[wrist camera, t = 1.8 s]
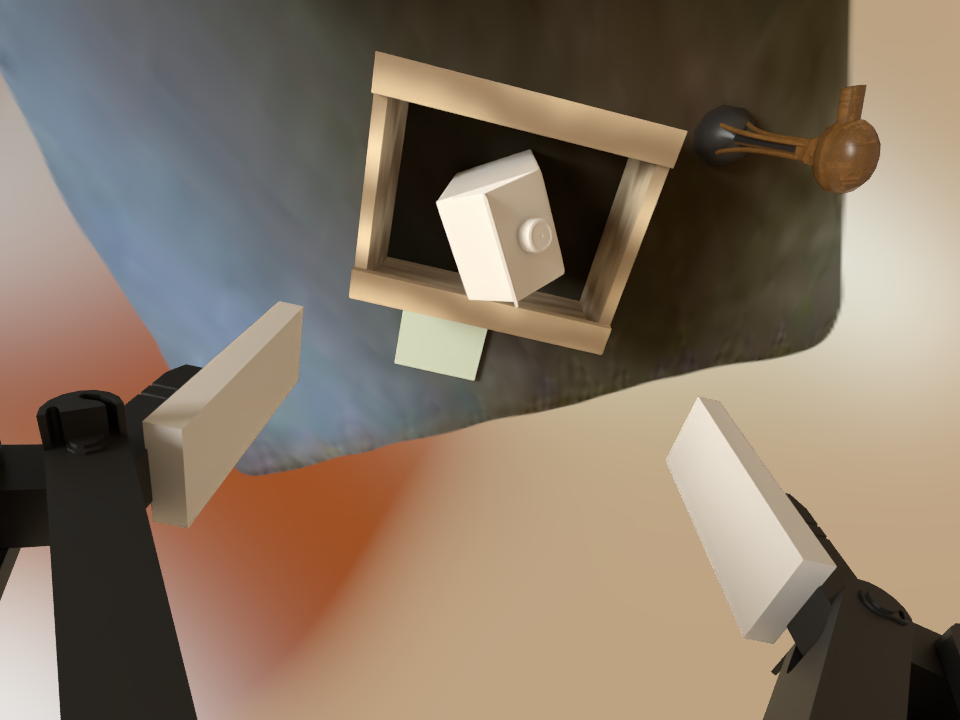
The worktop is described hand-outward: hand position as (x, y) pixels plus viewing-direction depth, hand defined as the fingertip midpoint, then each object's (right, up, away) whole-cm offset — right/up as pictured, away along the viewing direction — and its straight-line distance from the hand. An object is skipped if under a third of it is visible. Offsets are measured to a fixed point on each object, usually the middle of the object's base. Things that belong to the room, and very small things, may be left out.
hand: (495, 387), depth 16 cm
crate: (+2, +16, +30) cm, 35 cm away
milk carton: (+2, +16, +31) cm, 35 cm away
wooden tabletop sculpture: (+20, +21, +27) cm, 40 cm away
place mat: (-5, +4, +37) cm, 38 cm away
